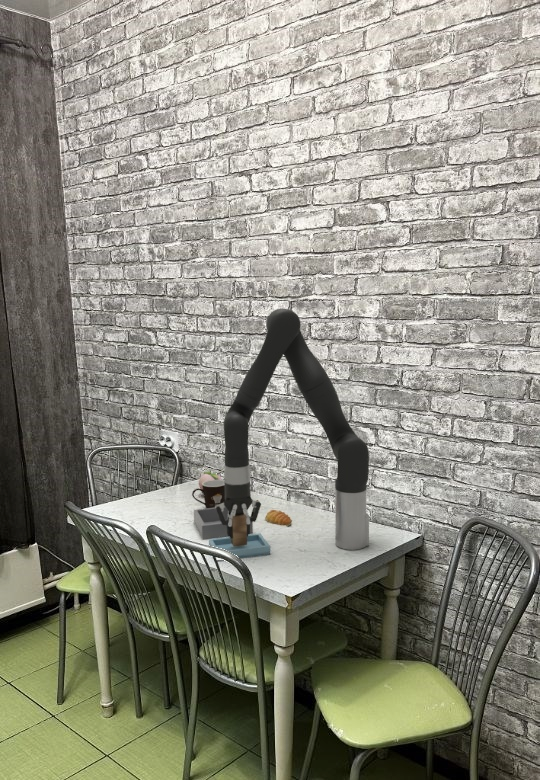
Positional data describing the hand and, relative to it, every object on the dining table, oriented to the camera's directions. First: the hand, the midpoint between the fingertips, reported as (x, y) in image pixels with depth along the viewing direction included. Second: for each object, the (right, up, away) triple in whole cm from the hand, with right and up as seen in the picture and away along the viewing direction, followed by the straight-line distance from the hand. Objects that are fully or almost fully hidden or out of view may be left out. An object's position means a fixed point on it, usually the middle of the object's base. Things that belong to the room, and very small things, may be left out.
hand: (238, 536), depth 185 cm
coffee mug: (-12, 0, +38) cm, 39 cm away
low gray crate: (-6, -2, +18) cm, 20 cm away
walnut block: (0, -2, 0) cm, 2 cm away
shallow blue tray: (0, -4, +1) cm, 5 cm away
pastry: (+12, -1, +24) cm, 27 cm away
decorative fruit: (-13, +2, +55) cm, 56 cm away
